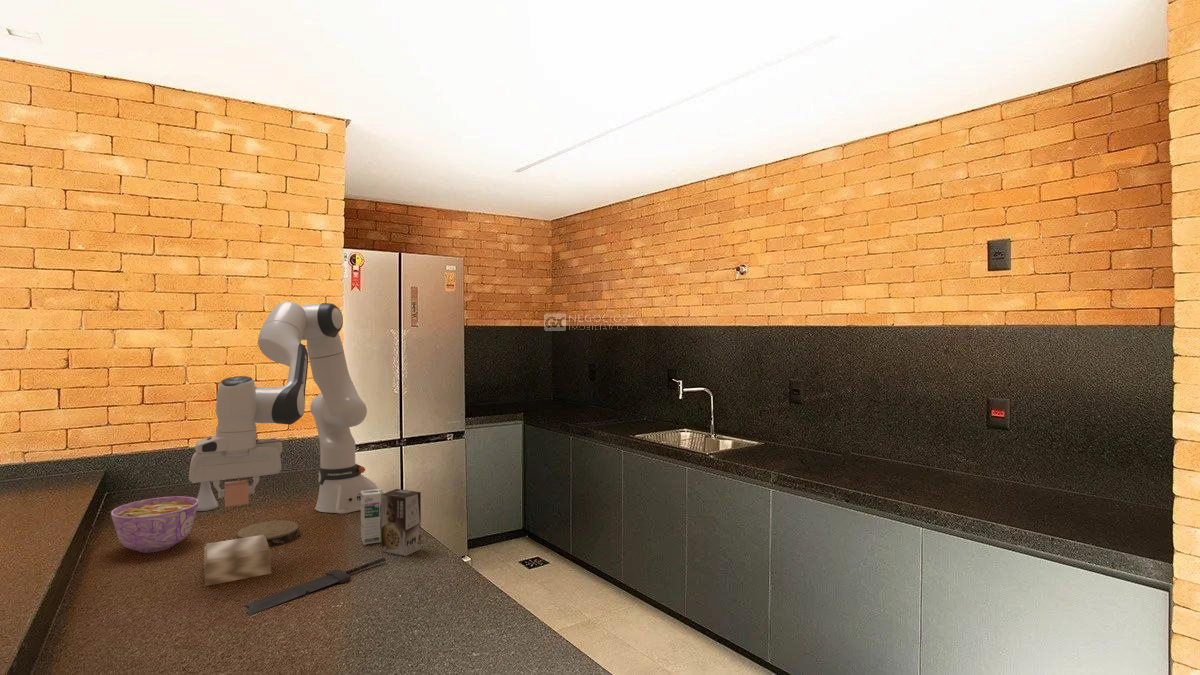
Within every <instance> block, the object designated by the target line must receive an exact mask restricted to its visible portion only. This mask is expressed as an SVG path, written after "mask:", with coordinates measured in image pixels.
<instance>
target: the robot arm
mask: <svg viewBox="0 0 1200 675" xmlns="http://www.w3.org/2000/svg"><path fill="white" fill-rule="evenodd" d="M343 318H344V317H343V315H342V312H341V309H340V308H339V307H338V306H337V305H336V304H335V303H327V302H323V303H310V304H302V305H300V304H298V303H297V302H293V301H282V302H279V303H278V304H276V305H275V306H274V307H273V309H272V310H271V311H270V313H269V314H268V316H267V317H266V319H265V321H264V323H263V325H262V327H261V329H260V331H259V334H258V338H257V345H258V348H259V350H260V352H261V353H262V354H263V355H264V357H266V358H268V359H269V360H270V361H273V362H275V363H278V364H282V365H284V366H286V367H289V368H288V375H287V383H286V384H285V385H282V386H276V387H275V386H263V387H262V386H257V385H255V381H254V378H252V377H251V376H245V375H239V376H238V375H237V376H230V377H227V378H224V379H222V380H221V381H220V382H219V384H218V389H217V394H216V405H215V406H216V407H215V413H216V414H215V415H216V417H217V426H216V429H215V430H216V431H215V435H212V436H210V437H206V438H203V439H201V440H198V441H196V443H195V444H194V445H195V446H194V450H195V452H194V453H193V454H192V456H191V459H190V460H191V461H190V464H189V470H188V471H189V473H188V480H189V481H190V483H192V484H195V483H198V484H199V483H201V482H208V481H210V482H212V483H213V487H214V488H215V490H216V491H217V494H218V495H217V496H218V499H223V498H225V488H223V489H222V488H221V487H220V485H221V481H223V480H224V481H225V480H232V479H233V480H234V479H243V478H252V480H253V482H252V483H251V485H249V495H254V494H255V490H256V489H255V488H256V486H257V485H258V483H259V481H260V477H263V476H270V475H279V473H281V471H282V460H281V454H282V452H283V442H282V441H281V440H279V439H277V438H275V437H274V438H273V437H272V438H271V437H270V438H258V439H257V424H277V425H278V424H280V425H289V426H290V425H293V424H294V423H296V422H297V421H299V420H300V419H301V418H302V417H303V416H304V414H305V409H306V388H307V387H306V386H307V379H308V369H309V366H310V371H311V374H312V375H311V376H312V379H313V381H314V383H315V384H316V385H317V387H318V389H319V391H320V393H319V394H317V395H315V397H314V398H313V399H312V400H311V403H310V405H309V406H310V408H309V409H310V413H311V415H312V416H313V419H314V421H315V426H316V431H317V434H318V439H319V447H320V448H319V449H320V450H319V453H320V454H319V455H320V457H319V458H320V460H319V462H320V466H319V467H318V485H319V489H318V495H317V500H316V505H315V508H314V509H315V511H317V512H320V513H321V512H322V513H331V514H332V513H335V514H340V515H342V514H343V515H344V514H348V513H353V512H357V511H361V491H365V490H374V489H379V488H378V486H377V484H376V483H375V482H374V481H373V480H371V479H369V478H368V477H366V476H365V475H363V473H365V472H366V467H365V466H363V465H360V464H358V463H356V441H355V438H354V437H353V434H352V432H351V428H353V427H357V426H359V425H360V424H362V423H363V422H364V421H365V419H366V416H367V413H368V412H367V411H368V410H367V406H366V403H365V402H364V401H363V400H362V399H361V397H360V396H359V394H358V392H357V389H356V387H355V385H354V382H353V380H352V377H351V375H350V372H349V369H348V365H347V364H348V363H347V360H346V354H345V350H344V345H343V342H342V339H341V337H340V334H339V333H340V331H341V330H342V327H343V324H344V319H343ZM302 341H306V345H304V344H303V343H302Z"/></svg>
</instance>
